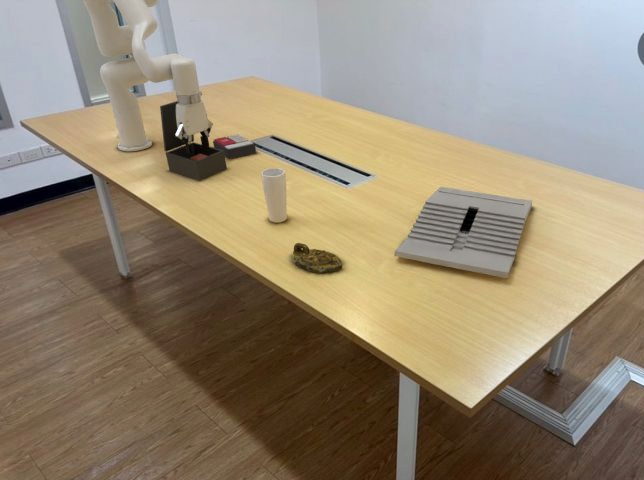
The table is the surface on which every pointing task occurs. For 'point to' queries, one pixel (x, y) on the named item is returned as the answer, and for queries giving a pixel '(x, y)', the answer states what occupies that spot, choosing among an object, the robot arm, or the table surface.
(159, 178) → the table surface
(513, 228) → the grey grooved board
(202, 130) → the robot arm
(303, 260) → the seal
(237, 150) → the calculator
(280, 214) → the drinking glass
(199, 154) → the block
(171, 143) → the case lid
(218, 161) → the case
